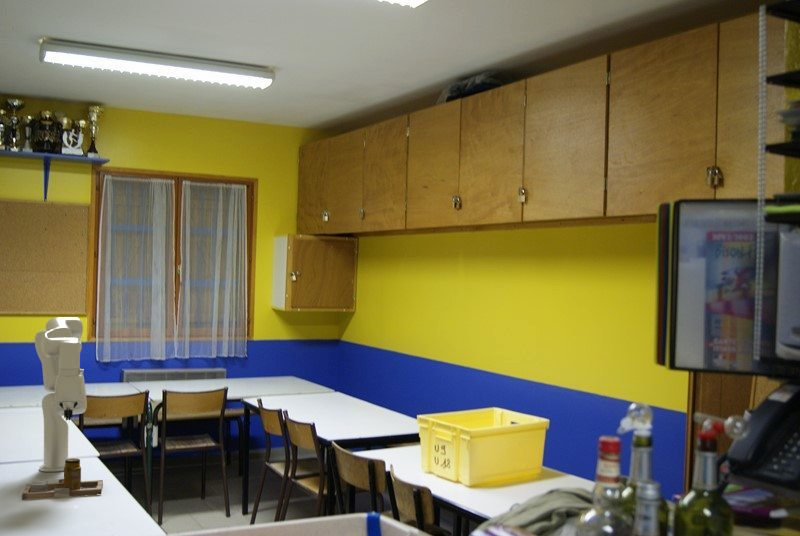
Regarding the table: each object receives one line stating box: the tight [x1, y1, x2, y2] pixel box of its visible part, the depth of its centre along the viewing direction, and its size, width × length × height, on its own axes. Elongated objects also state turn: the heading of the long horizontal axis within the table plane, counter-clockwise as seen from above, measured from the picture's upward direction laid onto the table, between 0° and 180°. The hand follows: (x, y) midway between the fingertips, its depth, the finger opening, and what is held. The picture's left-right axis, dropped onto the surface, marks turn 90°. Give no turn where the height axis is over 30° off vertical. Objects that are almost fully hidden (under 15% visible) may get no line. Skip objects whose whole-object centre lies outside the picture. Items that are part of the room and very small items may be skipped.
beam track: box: [21, 478, 104, 501], centre depth 313 cm, size 16×27×4 cm, turn 107°
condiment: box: [63, 457, 82, 490], centre depth 314 cm, size 7×8×12 cm
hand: (68, 419), depth 323 cm, fingers closed
